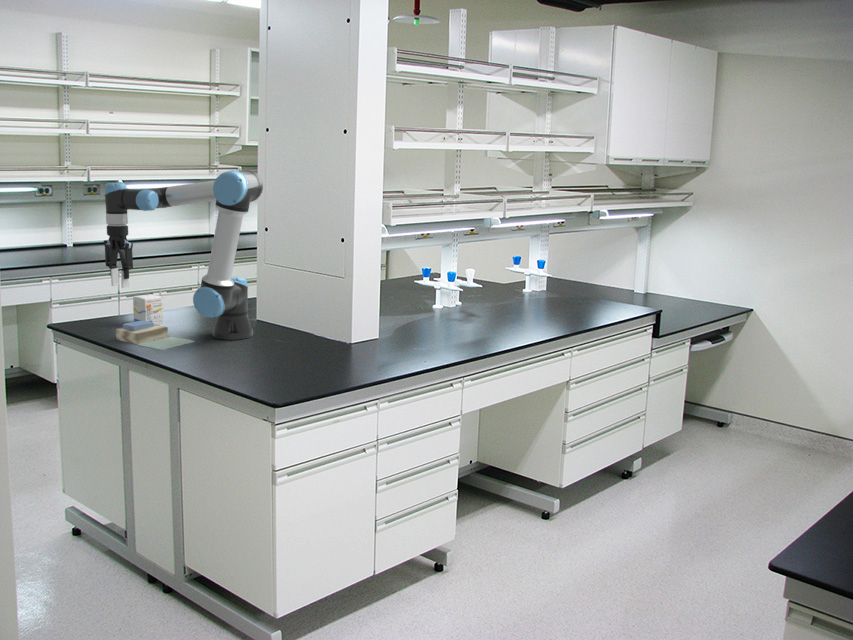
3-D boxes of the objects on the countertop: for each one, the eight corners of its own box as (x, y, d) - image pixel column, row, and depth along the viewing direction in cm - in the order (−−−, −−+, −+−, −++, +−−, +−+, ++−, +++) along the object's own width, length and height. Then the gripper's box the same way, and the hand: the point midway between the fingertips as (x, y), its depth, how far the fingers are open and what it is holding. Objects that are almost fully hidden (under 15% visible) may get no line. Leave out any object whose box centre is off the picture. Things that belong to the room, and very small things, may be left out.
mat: (194, 341, 302) (194, 341, 302) (161, 350, 289) (161, 349, 289) (171, 337, 308) (171, 336, 308) (138, 345, 294) (138, 344, 294)
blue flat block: (153, 326, 307) (153, 322, 307) (134, 330, 300) (133, 326, 299) (142, 324, 310) (142, 320, 310) (123, 328, 302) (122, 324, 302)
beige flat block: (168, 337, 308) (167, 327, 307) (138, 344, 296) (137, 333, 295) (146, 332, 314) (145, 322, 313) (116, 339, 302) (115, 329, 301)
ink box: (145, 327, 322) (144, 298, 320) (133, 324, 327) (132, 296, 325) (164, 324, 329) (163, 296, 327) (151, 321, 334) (150, 293, 332)
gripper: (142, 226, 300) (144, 287, 305) (109, 222, 309) (112, 282, 314) (125, 227, 294) (128, 290, 299) (92, 223, 302) (96, 285, 307)
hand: (120, 286), depth 306 cm, fingers open, 5 cm apart
